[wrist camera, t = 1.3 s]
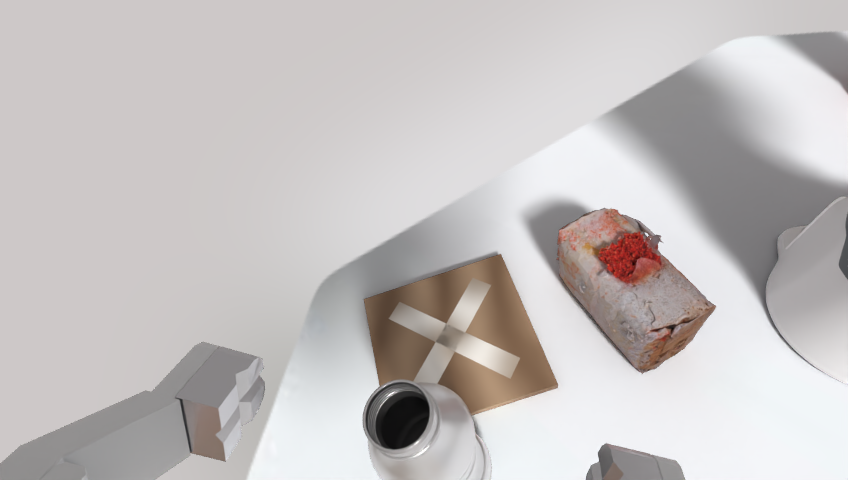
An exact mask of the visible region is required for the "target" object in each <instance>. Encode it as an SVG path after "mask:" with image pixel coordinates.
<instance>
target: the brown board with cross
mask: <svg viewBox="0 0 848 480" xmlns="http://www.w3.org/2000/svg"><path fill="white" fill-rule="evenodd" d="M364 303H365V309H366V314H367V319H368V325H369V330H370V336H371V341H372V347H373V352H374V357H375V363H376V368H377V374H378V379H379V384H380V386H382V385H383V384H385V383H387V382H390V381H393V380H400V379H403V380H409V381H413V382H415V383H418V382H427V383H435V384H439V385H442V386H445V387H447V388H448V389H450V390H452V391H454V392H455V393H456V394H457V395H458V396H459V397H461V399H462V400H463V401H464V403H465V404H466V405H467V407H468V409H469V411H470V413H471V415H475V414H478V413H481V412H484V411H487V410H490V409H493V408H496V407H500V406H503V405H506V404H509V403H512V402H515V401H518V400H521V399H524V398H528V397H531V396H534V395H537V394H540V393H543V392H546V391H549V390H553V389H556V388H558V383H557V381H556V379H555V377H554V374H553V372H552V370H551V367H550V365H549V363H548V361H547V358H546V356H545V354H544V351H543V349H542V347H541V345H540V342H539V340H538V338H537V336H536V333H535V331H534V329H533V326H532V324H531V322H530V320H529V317H528V315H527V313H526V310H525V308H524V306H523V304H522V301H521V299H520V297H519V294H518V292H517V290H516V288H515V285H514V283H513V281H512V278H511V276H510V274H509V272H508V269H507V267H506V265H505V262H504V260H503V258H502V256H501V254H499V255H496V256H493V257H490V258H487V259H484V260H481V261H478V262H475V263H472V264H469V265H466V266H463V267H460V268H457V269H454V270H451V271H448V272H445V273H442V274H439V275H436V276H433V277H430V278H427V279H423V280H420V281H417V282H414V283H411V284H408V285H405V286H402V287H399V288H396V289H393V290H390V291H387V292H384V293H381V294H378V295H375V296H372V297H369V298H366V299H364Z"/></svg>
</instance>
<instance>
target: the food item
mask: <svg viewBox="0 0 848 480" xmlns="http://www.w3.org/2000/svg"><path fill="white" fill-rule="evenodd" d="M644 232H646V233H648V235H649V236H648V237H647V236H646V235H645V233H644ZM659 237H660V238H661V236H660V235H655V234H653V233H652V232H651V231H650V230H649V229H648V228H647V227H646V226H645V225H644V224H643V223H641V222H640V221H638V220H636V219H633V218H631V217H628V216H626V215H620V214H619V213H618V210H615V209H606V208H604V209H600V210H595V211H592V212H589V213H587V214H584V215H583V216H581V217H580V218H579V219H577V220H575V221H574V222H571V223H569V224H567V225H566V226H564V227H562V228H561V229H560V230H559V235H558V243H557V244H558V245H559V246H558V256H559V257H558V258H557V260H559V270H560V277H561V278H562V280H563V281H564V283H565V284H566V286H567V287H568V288H569V290H570V291H571V292H572V294H573V295H574V296H575V297H576V298H577V299H578V300H579V302H580V303H581V304H582V305H583V306H584V307H585V309H586V310H587V311H588V312H589V313H590V314H591V316H592V317H593V318H594V320H595V321H596V322H597V324H598V325H599V326H600V327H601V329H602V330H603V331H604V332H605V334H606V335H607V336H608V337H609V338H610V339H611V340H612V341H613V343H614V344H615V345H616V346H617V347H618V348H619V350H620V351H621V352H622V353H623V354H624V355H625V357H626V358H627V359H628V360H629V361H630V362H631V364H632V365H633V366H634V367H635V368H636V369H638V371H639V372H641V373H642V374H643V373H644V372H647V371H649V370H651V369H656V368H657V367H658V366H659V365H661V364H662V363H663V362H664V361H665V360H667V359H669V358H670V357H672V356H674V355H675V354H677V353H678V352H680V351H681V350H683V349H684V348H685V347H686V345H687V344H688V343H690V342H691V341H692V340H693V338H694V337H695V335H696V333H697V331H698V330H699V329H700V328H701V327H702V325H703V323H704V322H705V321H706V320H707V318H708V317H709V316H710V315H711V313H712V312H713V311H714V310H715V308H716V306H715V305H714V304H712V303H711V302H710V301H708V300H707V299H706V297H705V296H704V295H702V293H701V292H700V291H699V290H698V289H697V288H696V287H695V286H694V285H693V284H692V283H691V282H690V281H689V280H688V279H687V278H686V277H685V276H684V275H683V274H682V273H681V272H680V271H678V270H677V269H676V268H675V267H674V266H673V265H672V264H671V263H670V262H669V261H668V259H666V258H665V257H664V256H663V255H661V253H660V252H659V251H658V243H659V241H660V242H662V241H661V240H660V238H659ZM650 238H651V240H650ZM662 243H663V242H662Z"/></svg>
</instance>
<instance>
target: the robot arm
mask: <svg viewBox="0 0 848 480" xmlns="http://www.w3.org/2000/svg"><path fill="white" fill-rule="evenodd" d="M777 248H778V261H777V263H776V265H775V267H774V268H773V270H772V272H771V273H770V276H769V278H768V281H767V285H766V302H767V307H768V310H769V313H770V316H771V318H772V320H773V322H774V324H775V326H776V327H777V329H778V331H779V332H780V334H781V335H782V336H783V338H784V339H785V340H786V341H787V342H788V343H789V345H790V346H791V347H792V348H793V349H794V350H795V351H796V352H797V353H798V354H800V355H801V356H802V357H803V358H804V359H805V360H807V361H808V362H809V363H811V364H812V365H813V366H815V367H816V368H818V369H819V370H821V371H822V372H824V373H826V374H827V375H829V376H831V377H833V378H835V379H837V380H839V381H841V382H843V383H845V384H847V385H848V197H845V196H842V197H839V198H837V199H836V200H834V201H833V202H832V203H831V204H830V205H829V206H828V207H827V208H826V209H825V210H823V211H822V212H821V213H820V214H819V215H818V216H817V217H816V218H815V219H814V220H813V221H812V222H811V223H810V224H809V225H805V226H798V227H792V228H788V229H786V230H785V231H784V232H783V233H782V234H781V235H780V236H779V237H778V241H777ZM263 369H264V368H263V359H262V358H260V357H256V356H253V355H249V354H246V353H242V352H238V351H235V350H232V349H228V348H224V347H220V346H216V345H212V344H209V343H205V342H201V343H199V344H197V345H196V346H194V348H192V350H191V351H190V352H189V353H188V354H187V355H186V356H185V357H184V358H183V359H182V360H181V361H180V362H179V363H178V364H177V365H176V367H175V368H174V369H173V370H172V371H171V372H170V373H169V374H168V375H167V376H166V377H165V378H164V379H163V380H162V381H161V382H160V384H159V385H158V386H157V387H156V388H155V389H154V390H153V391H152V392H150V391H143V392H141V393H139V394H137V395H134V396H132V397H130V398H128V399H125V400H123V401H121V402H119V403H116V404H114V405H112V406H110V407H107V408H105V409H103V410H101V411H99V412H96V413H94V414H91V415H89V416H87V417H85V418H83V419H80V420H78V421H76V422H73V423H71V424H69V425H66V426H64V427H62V428H60V429H58V430H56V431H53V432H51V433H49V434H46V435H44V436H42V437H39V438H37V439H35V440H33V441H30V442H28V443H26V444H24V445H21V446H20V447H18V448H17V449H16V450H15V451H14V452H13V453H12V454H11V455H10V456H8V457H7V458H6V459H5V460H4V461H3V462H2V463H0V480H155V479H157V478H158V477H160V476H161V475H163V474H164V473H165V472H167V471H168V470H170V469H171V468H173V467H174V466H176V465H177V464H179V463H180V462H182V461H183V460H185V459H186V458H188V457H189V456H190V453H192V454H196V455H201V456H204V457H209V458H213V459H217V460H221V461H225V462H226V461H227V459H228V458H229V456H230V454H231V453H232V451H233V450H234V448H235V447H236V445H237V443H238V442H239V440H240V439H241V437H242V432H241V426H243V425H245V424H247V423H249V422H250V421H252V420H253V418H254V417H255V415H256V413H257V412H258V410H259V407H260V405H261V402H262V400H263V396H264V390H265V386H264V381H263V379H262V378H261V377H260V373H261V372H262V370H263ZM598 457H599V462H598V463H595V464H593V465H591V467H590V469H589V471H588V473H587V476H586V480H685V477H684V475H683V472H682V469H681V466H680V465H679V464H678V462H677V461H675V460H671V459H667V458H663V457H659V456H655V455H650V454H648V453H644V452H640V451H636V450H631V449H627V448H623V447H619V446H615V445H610V444H604V445H603V446H602V447H601V448H600V450H599V452H598Z"/></svg>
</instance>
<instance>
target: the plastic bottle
mask: <svg viewBox="0 0 848 480" xmlns="http://www.w3.org/2000/svg"><path fill="white" fill-rule="evenodd" d="M363 428H364V431H365V434H366V436H367V438H368V446H369V454H370V459H371V462H372V465H373V467H374V469H375V471H376V472H377V474H378V476H379V477H380V478H381V479H382V480H490V479H491V473H492V464H491V457H490V454H489V451H488V449H487V447H486V445H485V443H484V442H483V440H482V439H481V438H480V437H479V436H478V435H477V434H476V433H475V427H474V422H473V419H472V415H471V413H470V411H469V409H468V407H467V405H466V404H465V403H464V401H463V400H462V399H461V397H459V396H458V395H457V394H456V393H455V392H454V391H452V390H450V389H448V388H447V387H445V386H442V385H439V384H435V383H427V382H418V383H415V382H413V381H409V380H403V379H400V380H393V381H390V382H387V383H385V384H383V385H382V386H380V387H379V388H378V389H376V390H375V391H374V393H373V394H372V395H371V396H370V398H369V399H368V401H367V403H366V405H365V408H364V412H363Z"/></svg>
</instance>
